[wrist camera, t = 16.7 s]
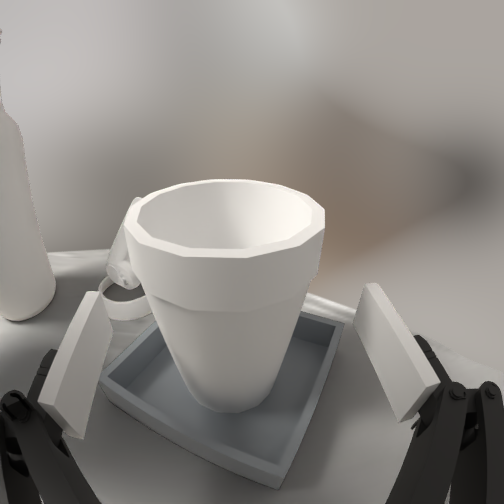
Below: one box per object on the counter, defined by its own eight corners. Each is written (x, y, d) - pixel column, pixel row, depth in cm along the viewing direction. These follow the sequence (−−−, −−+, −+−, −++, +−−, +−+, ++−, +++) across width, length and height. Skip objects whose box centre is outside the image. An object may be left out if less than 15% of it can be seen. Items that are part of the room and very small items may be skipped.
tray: (109, 401, 18) (95, 377, 16) (202, 304, 28) (200, 279, 27) (278, 489, 13) (284, 478, 12) (336, 348, 23) (344, 323, 22)
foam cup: (258, 321, 26) (266, 173, 19) (318, 399, 19) (368, 229, 12) (153, 351, 22) (118, 194, 15) (189, 450, 15) (134, 283, 8)
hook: (209, 230, 31) (178, 216, 24) (164, 329, 31) (126, 339, 24) (157, 204, 33) (120, 187, 26) (117, 296, 33) (77, 297, 26)
